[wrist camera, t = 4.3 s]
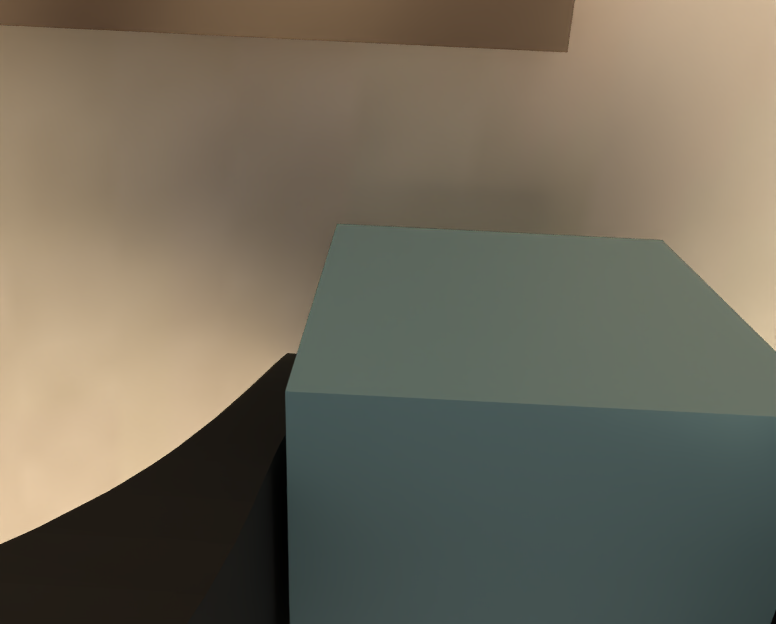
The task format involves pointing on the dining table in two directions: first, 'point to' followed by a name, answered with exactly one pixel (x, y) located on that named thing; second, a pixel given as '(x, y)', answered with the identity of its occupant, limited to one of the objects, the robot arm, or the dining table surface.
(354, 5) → the walnut board
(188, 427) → the dining table surface
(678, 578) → the teal cube
